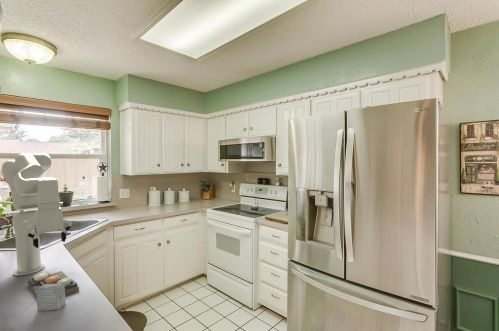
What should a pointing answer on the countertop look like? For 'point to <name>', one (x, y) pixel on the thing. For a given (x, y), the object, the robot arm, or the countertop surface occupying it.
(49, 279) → the terracotta button
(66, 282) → the sage button
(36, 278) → the cream button
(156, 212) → the countertop surface
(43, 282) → the button panel
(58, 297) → the medicine box
